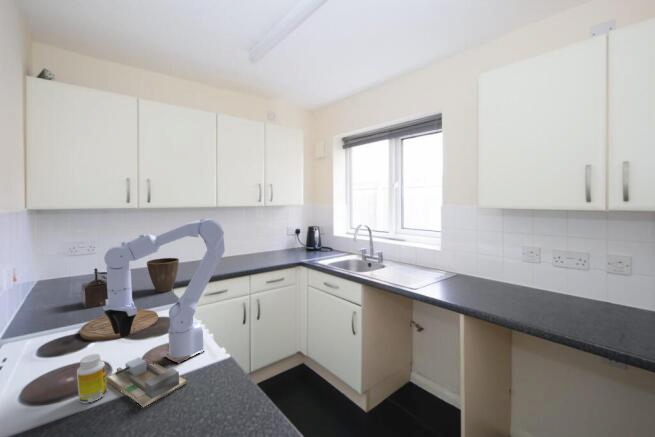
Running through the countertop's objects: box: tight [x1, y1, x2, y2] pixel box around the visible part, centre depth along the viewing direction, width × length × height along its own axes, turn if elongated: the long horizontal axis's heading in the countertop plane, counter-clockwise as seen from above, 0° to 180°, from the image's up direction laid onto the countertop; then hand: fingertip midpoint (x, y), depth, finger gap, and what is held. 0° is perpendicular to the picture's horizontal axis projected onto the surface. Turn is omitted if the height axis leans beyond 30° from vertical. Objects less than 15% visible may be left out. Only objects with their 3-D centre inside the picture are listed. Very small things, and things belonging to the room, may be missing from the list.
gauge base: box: [106, 363, 187, 408], centre depth 83 cm, size 11×20×4 cm, turn 56°
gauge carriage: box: [114, 356, 147, 377], centre depth 84 cm, size 7×4×3 cm, turn 146°
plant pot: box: [146, 257, 180, 293], centre depth 163 cm, size 15×15×16 cm
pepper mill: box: [81, 267, 108, 309], centre depth 145 cm, size 16×11×18 cm
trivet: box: [79, 309, 159, 342], centre depth 120 cm, size 25×25×2 cm
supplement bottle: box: [76, 353, 108, 404], centre depth 77 cm, size 6×6×10 cm
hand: (122, 334), depth 89 cm, fingers open, 3 cm apart
